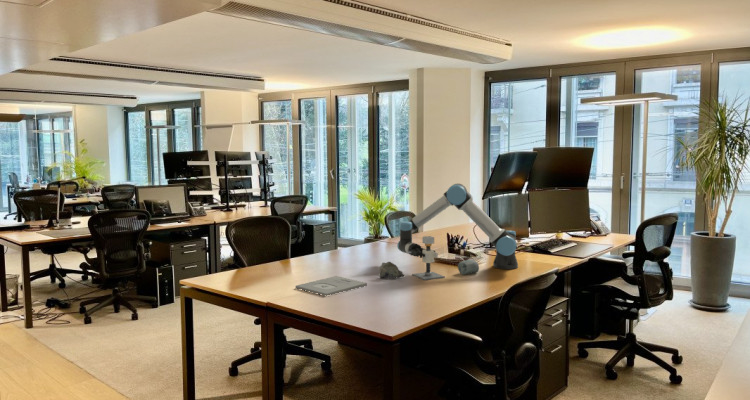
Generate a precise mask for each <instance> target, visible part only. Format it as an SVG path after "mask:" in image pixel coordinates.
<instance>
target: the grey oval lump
mask: <svg viewBox="0 0 750 400" xmlns="http://www.w3.org/2000/svg"><path fill="white" fill-rule="evenodd" d="M457 269H458V272H459V274H461V275H462V276H466V275H470V274H476V273H478V272H479V271H480V267H479V263H478V262H477V261H476V260H474V259H467V260H463V261H459V263H458V264H457Z"/></svg>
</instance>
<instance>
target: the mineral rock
mask: <svg viewBox="0 0 750 400" xmlns="http://www.w3.org/2000/svg"><path fill="white" fill-rule="evenodd" d="M404 277H405V274H404V273H403V271H401V270H400V269H399V267H398V266H397V265H396V264H394V263H393V262H391V261H387V262H382V263H381V266H380V268H379V278H380V279H390V280H391V279H392V280H394V279H400V278H404Z"/></svg>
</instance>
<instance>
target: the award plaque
mask: <svg viewBox="0 0 750 400" xmlns="http://www.w3.org/2000/svg"><path fill="white" fill-rule="evenodd" d="M364 286H365V287H367V286H368V283H367V282H364V281H360V280H355V279H351V278H347V277H344V276H343V277H342V276H339V275H334V276H331V277H330V276H329V277H327V278H322V279H318V280H315V281H308V282H305V283H301V284H297V285H295V289H296V288H298V289H297V290H299V289H302V290H306V291H310V292H314V293H318V294H322V295H326V296H327V295H330V294H335V293H339V292H343V291H346V292H348V291H347V290H350V291H352V290H351V289H354V290H356V289H355V288H357V289H360V288H359V287H361V288H364ZM302 290H301V291H302ZM306 291H305V292H306ZM310 292H309V293H310ZM314 293H313V294H314ZM343 293H344V292H343ZM339 294H340V293H339ZM335 295H336V294H335Z"/></svg>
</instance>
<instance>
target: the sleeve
mask: <svg viewBox="0 0 750 400" xmlns="http://www.w3.org/2000/svg"><path fill="white" fill-rule="evenodd" d="M424 249H425V250H422V252H425V253H428V254H429V259H427V258H424V257H422V258H421V260H422V261H421V262H423V263H425V264H426V263H430V264H431V263H435V257H434V250H435V249H431V248H430V251H426V248H424Z"/></svg>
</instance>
